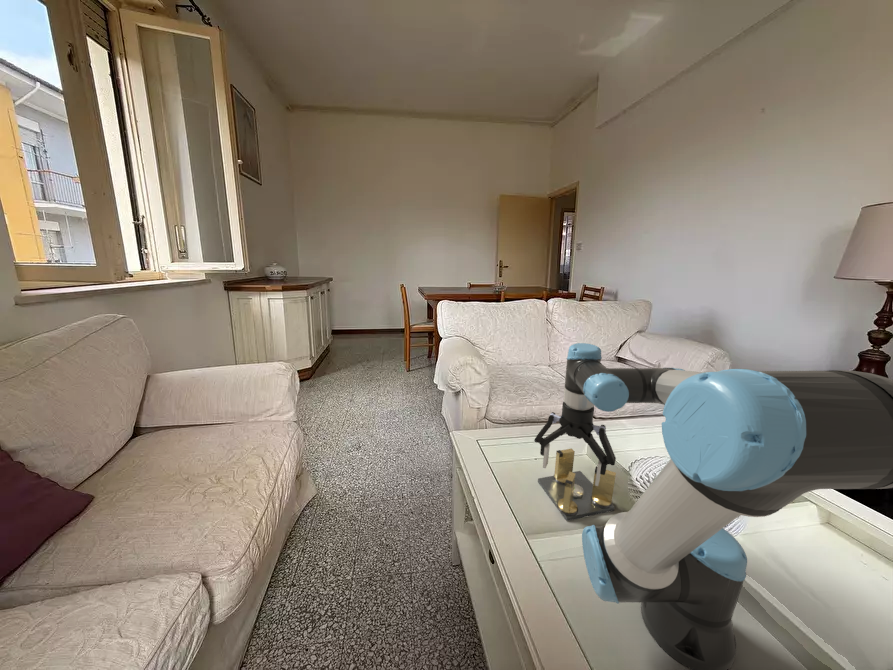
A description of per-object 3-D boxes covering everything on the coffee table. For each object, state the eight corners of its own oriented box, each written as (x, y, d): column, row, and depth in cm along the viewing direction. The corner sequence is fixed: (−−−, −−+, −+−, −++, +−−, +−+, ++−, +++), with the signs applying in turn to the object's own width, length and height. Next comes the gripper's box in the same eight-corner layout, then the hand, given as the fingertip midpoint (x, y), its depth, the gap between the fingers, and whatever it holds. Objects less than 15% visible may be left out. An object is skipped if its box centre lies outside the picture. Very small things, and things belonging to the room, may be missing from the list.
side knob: (610, 508, 94) (614, 479, 92) (590, 501, 97) (594, 473, 94) (612, 496, 99) (616, 468, 96) (593, 490, 101) (596, 462, 99)
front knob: (579, 503, 96) (582, 475, 93) (575, 516, 92) (578, 486, 89) (560, 497, 99) (562, 469, 96) (555, 508, 94) (558, 479, 92)
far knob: (575, 481, 105) (578, 454, 102) (560, 484, 104) (562, 457, 101) (565, 470, 110) (568, 444, 107) (551, 473, 109) (553, 447, 106)
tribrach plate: (616, 510, 96) (617, 502, 95) (564, 521, 92) (564, 514, 92) (580, 471, 112) (581, 465, 111) (534, 480, 108) (534, 473, 107)
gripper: (634, 409, 83) (622, 481, 90) (534, 387, 96) (529, 452, 102) (632, 423, 77) (619, 500, 83) (526, 397, 90) (521, 466, 96)
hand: (570, 473), depth 93 cm, fingers open, 13 cm apart
